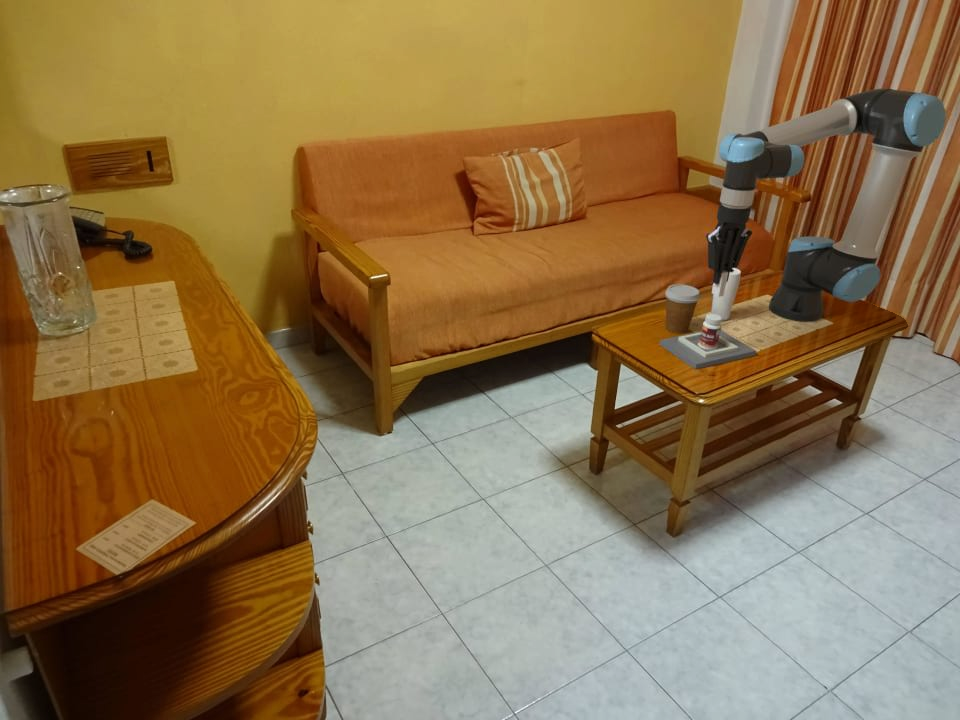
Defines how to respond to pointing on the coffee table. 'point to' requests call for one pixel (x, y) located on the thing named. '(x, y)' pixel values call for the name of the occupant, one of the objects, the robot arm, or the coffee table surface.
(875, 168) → the robot arm
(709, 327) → the pill bottle
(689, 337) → the socket plate
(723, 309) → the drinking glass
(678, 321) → the disposable coffee cup
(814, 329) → the coffee table surface
